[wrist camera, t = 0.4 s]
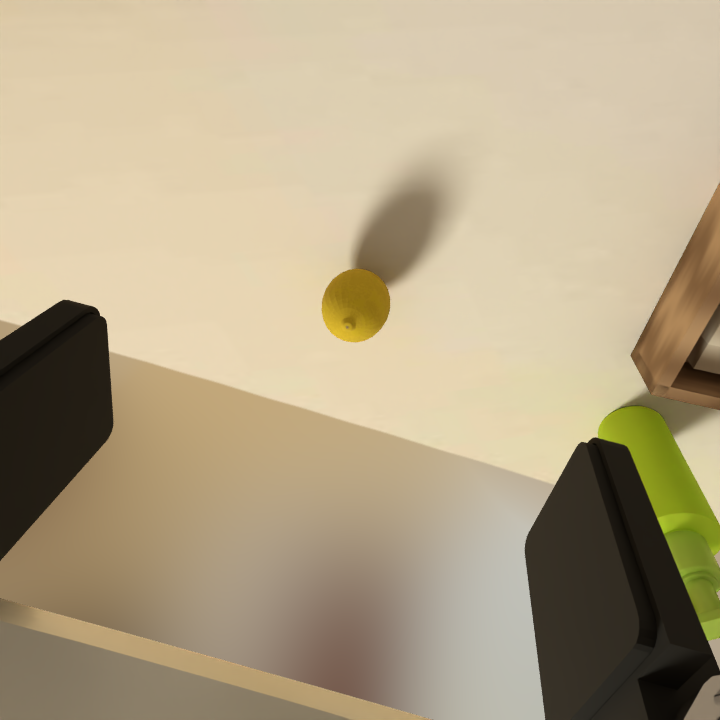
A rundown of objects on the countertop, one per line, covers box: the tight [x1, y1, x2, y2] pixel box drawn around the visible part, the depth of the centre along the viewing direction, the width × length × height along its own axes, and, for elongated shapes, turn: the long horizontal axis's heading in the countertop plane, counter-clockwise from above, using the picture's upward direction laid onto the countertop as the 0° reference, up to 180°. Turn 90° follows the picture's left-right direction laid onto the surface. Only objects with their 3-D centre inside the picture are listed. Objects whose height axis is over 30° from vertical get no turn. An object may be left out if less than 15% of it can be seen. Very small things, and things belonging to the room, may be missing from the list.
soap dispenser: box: [598, 406, 720, 641], centre depth 42 cm, size 6×7×20 cm
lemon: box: [322, 269, 390, 342], centre depth 44 cm, size 6×6×8 cm
